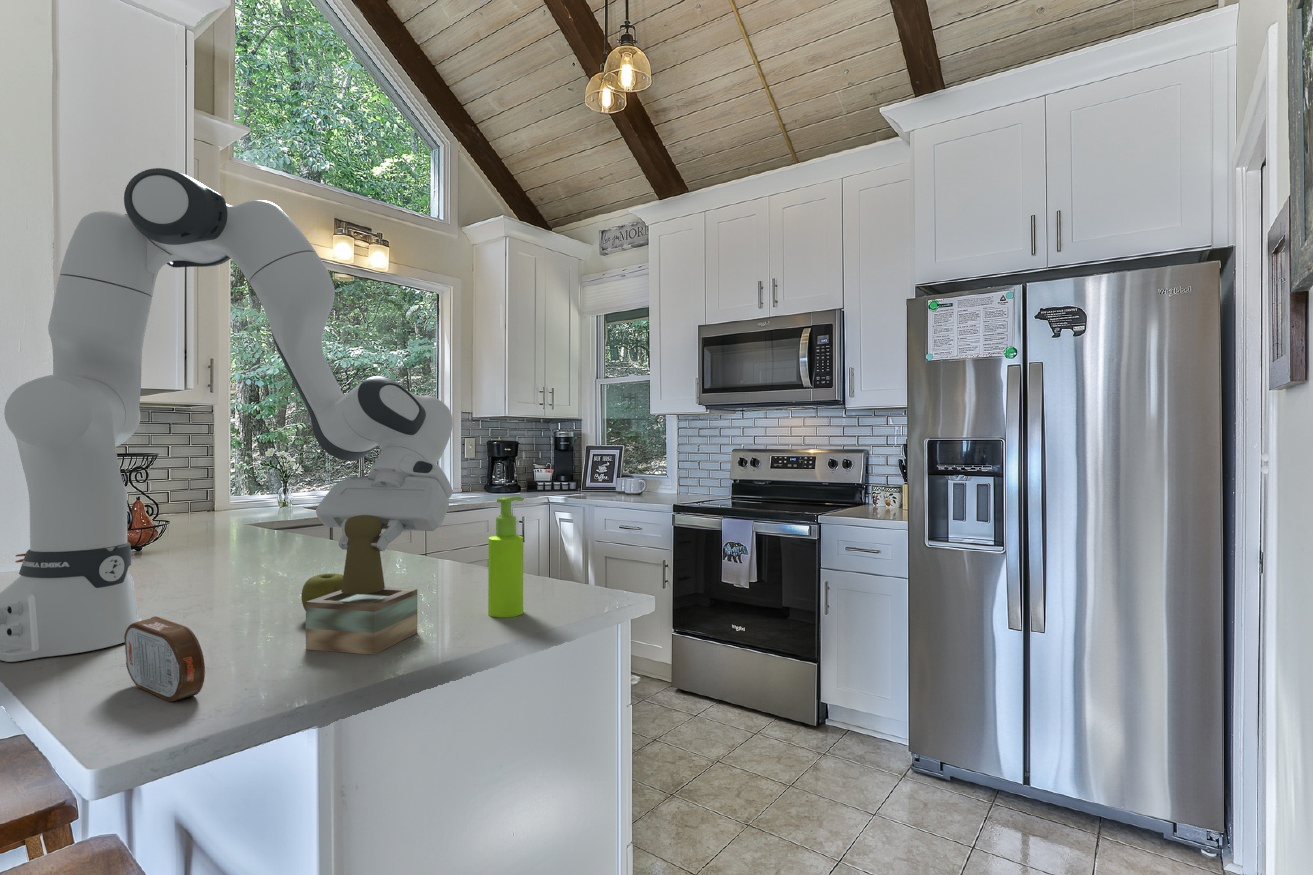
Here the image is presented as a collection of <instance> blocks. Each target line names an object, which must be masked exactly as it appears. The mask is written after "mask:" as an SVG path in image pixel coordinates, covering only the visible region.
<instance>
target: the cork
mask: <svg viewBox="0 0 1313 875" xmlns="http://www.w3.org/2000/svg"><path fill="white" fill-rule="evenodd" d="M344 527H345V534H346V536H347V537H348V547H347V550H346V556H345V563H344V567H343V568H344V569H343V574H342V575H343V582H342V589H341V592H343V593H347V594H365V593H373V592H378V591H381V590H383V589H385V587H386V586H385V585H386V584H385V580H384V572H383V564H382V556H381V551H375V550H374V549H373V548H372V547H371V543H372V541H373V540H374V538H375V537H376V536H380V535H381V534H382V532H383V529H382V523H381V520H380V519H379V518H378V517H376V516H371V515H359V516H354V517H351V518H349V519H347V521H346V522H345V526H344Z"/></svg>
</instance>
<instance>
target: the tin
mask: <svg viewBox="0 0 1313 875" xmlns="http://www.w3.org/2000/svg"><path fill="white" fill-rule="evenodd" d="M124 640H125V642H124V645H125V646H124V647H125V657H126V662H125V665H126V669H127V672H128V675H129V677H130V679H131V680H132V682H133V684H134V685H135V686H136V687H137V688H139V689H141V690H143V691H145V692H148V693H149V694H152V695H154V696H156V697H158V698H160V699H162V700H165V701H167V702H170V703H171V702H177V701H180V700H183V699H186V698H188V697H193V696H194V697H195V696H197V695H198V694H199V693H200V692H201V691H202V688H203V687H204V682H205V677H206V667H205V666H206V664H205V657H204V653H203V650H202V646H201V644H200V642H199V639H198V638H197V635H196V634H194V632H193V631H192V630H191V628H189V627H188V626H186V625H183V624H180V623H177V622H173V621H171V620H168V619H166V618H163V617H160V616H152V617H150V618H147V619H142V621H138V622H135V623H132V624H131V625H129V627H128V628H127V630H126V632H125V636H124Z"/></svg>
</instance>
